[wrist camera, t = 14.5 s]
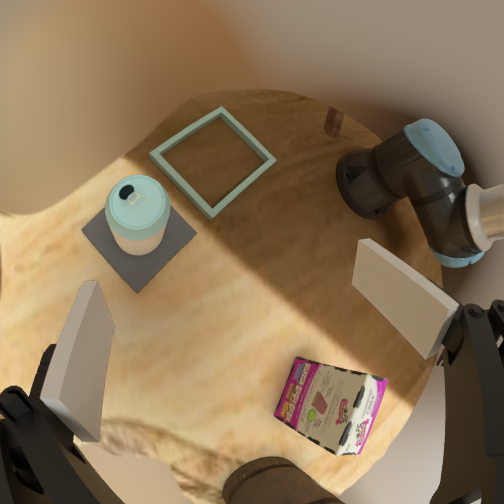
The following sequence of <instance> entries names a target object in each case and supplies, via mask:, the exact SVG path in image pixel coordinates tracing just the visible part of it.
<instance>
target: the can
mask: <svg viewBox="0 0 504 504" xmlns="http://www.w3.org/2000/svg"><path fill="white" fill-rule="evenodd" d="M105 215H106V219H107V222H108V224H109V226H110V229H111V231H112V233H113V236H114V238H115V240H116V242H117V244H118V245H119V247H120V248H121V249H122V250H123V251H125V252H127V253H129V254H131V255H145V254H148V253H150V252H152V251H153V250H154V249H155V248H156V247H157V246H158V245H159V244H160V242H161V240H162V237H163V234H164V231H165V227H166V224H167V221H168V218H169V215H170V199H169V196H168V194H167V192H166V190H165V189H164V187H163V186H162V185H161V184H160V183H159V182H157V181H156V180H155V179H153V178H151V177H149V176H146V175H132V176H128V177H126V178H124V179H122V180H121V181H120V182H119V183H117V184H116V185H115V186H114V187H113V188H112V190H111V191H110V193H109V195H108V197H107V200H106V204H105Z"/></svg>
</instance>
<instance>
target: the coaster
mask: <svg viewBox="0 0 504 504" xmlns="http://www.w3.org/2000/svg"><path fill="white" fill-rule="evenodd" d="M81 230H82V231H83V233H84V234H85V235H86V236H87V238H88V239H89V240H90V241H91V242H92V244H93V245H94V246H95V247H96V248H97V250H98V251H99V252H100V253H101V254H102V255H103V257H104V258H105V259H106V260H107V261H108V262H109V263H110V264H111V266H112V267H113V268H114V269H115V270H116V271H117V272H118V273H119V274H120V276H121V277H122V278H123V279H124V280H125V281H126V282H127V283H128V284H129V285H130V286H131V287H132V288H133V289H134V290H135V291H136V292H137V293H138V292H139V291H140V290H141V289H142V288H143V287H144V286H145V285H146V284H147V283H148V282H149V281H150V280H151V279H152V278H153V277H154V276H155V275H156V274H157V273H158V272H159V270H160V269H161V268H162V267H163V266H164V265H165V264H166V263H167V262H168V261H169V260H170V259H171V258H172V257H173V256H174V255H175V254H176V253H177V252H178V251H179V250H180V249H182V248H183V247H184V246H185V245H186V244H187V243H188V242H189V241H190V240H191V239H192V238H193V237H194V236H195V235H196V234H197V232H196V231H195V230H194V229H193V228H192V227H191V226H190V225H189V224H188V223H187V222H186V221H185V220H184V219H183V218H182V217H181V216H180V215H179V214H178V213H177V212H176V211H175V209H174V208H173V207H172V206H171V205H170V215H169V218H168V221H167V224H166V227H165V231H164V234H163V237H162V240H161V242H160V244H159V245H158V246H157V247H156V248H155V249H154V250H153V251H152V252H150V253H148V254H145V255H131V254H129V253H127V252H125V251H123V250H122V249H121V248H120V247H119V245H118V244H117V242H116V240H115V238H114V236H113V233H112V231H111V229H110V226H109V224H108V222H107V219H106V215H105V208H104V209H103V210H101V211H100V212H99V213H98V214H97V215H96V216H95V217H94V218H93V219H92V220H91V221H90V222H89V223H88V224H87V225H86V226H84V227H83V228H82V229H81Z"/></svg>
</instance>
